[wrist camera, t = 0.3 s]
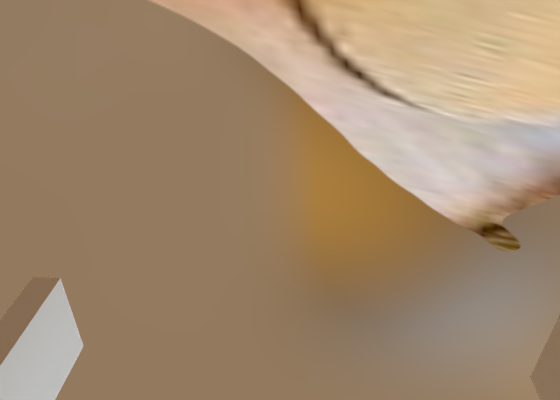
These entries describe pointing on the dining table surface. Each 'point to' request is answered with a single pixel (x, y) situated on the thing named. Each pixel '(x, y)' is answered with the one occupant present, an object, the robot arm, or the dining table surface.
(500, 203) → the dining table surface
